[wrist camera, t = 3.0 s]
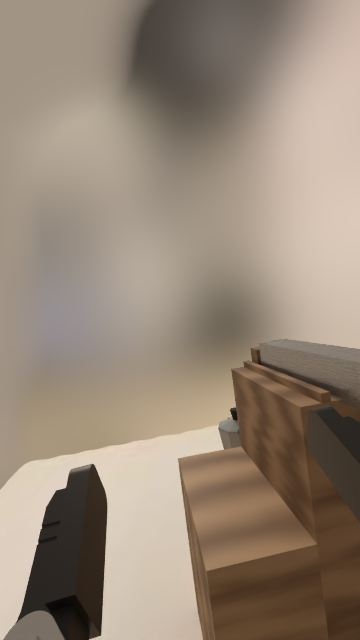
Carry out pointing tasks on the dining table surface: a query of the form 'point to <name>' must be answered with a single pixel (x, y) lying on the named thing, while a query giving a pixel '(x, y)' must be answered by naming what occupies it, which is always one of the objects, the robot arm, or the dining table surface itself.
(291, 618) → the stand
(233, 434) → the coffee maker
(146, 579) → the dining table surface
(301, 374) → the steel bar
